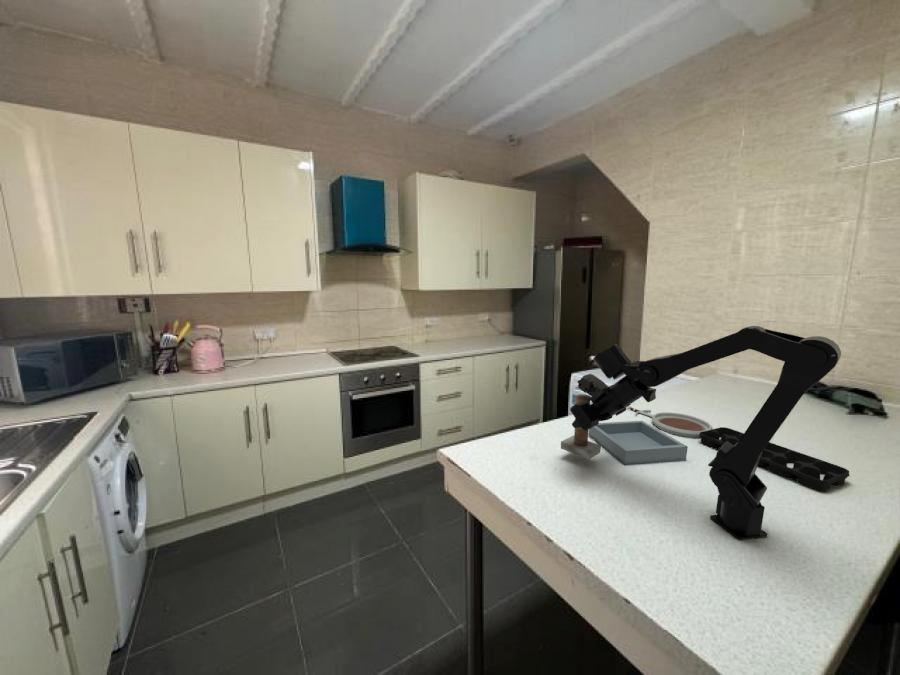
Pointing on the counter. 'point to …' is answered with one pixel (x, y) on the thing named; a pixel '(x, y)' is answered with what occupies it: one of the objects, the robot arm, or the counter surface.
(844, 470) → the egg carton
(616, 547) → the counter surface
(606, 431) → the tray
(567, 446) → the brown post on plinth
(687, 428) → the frying pan
